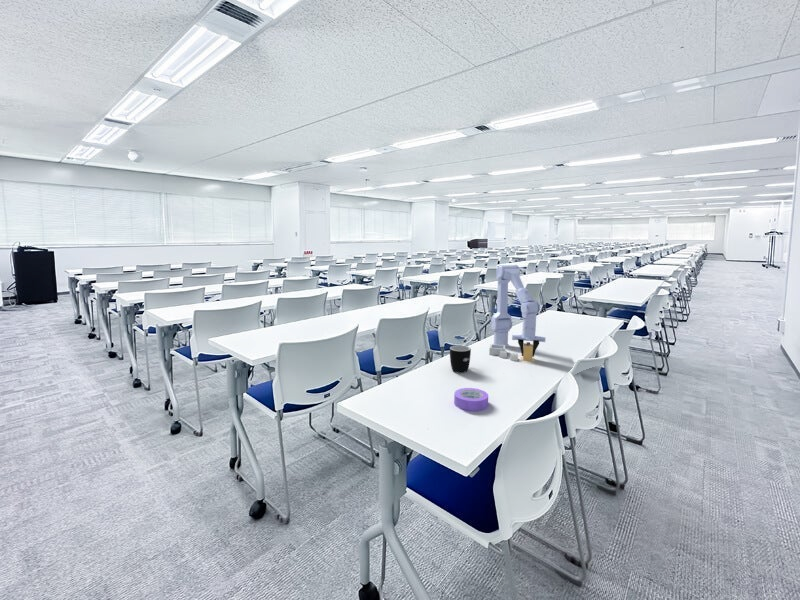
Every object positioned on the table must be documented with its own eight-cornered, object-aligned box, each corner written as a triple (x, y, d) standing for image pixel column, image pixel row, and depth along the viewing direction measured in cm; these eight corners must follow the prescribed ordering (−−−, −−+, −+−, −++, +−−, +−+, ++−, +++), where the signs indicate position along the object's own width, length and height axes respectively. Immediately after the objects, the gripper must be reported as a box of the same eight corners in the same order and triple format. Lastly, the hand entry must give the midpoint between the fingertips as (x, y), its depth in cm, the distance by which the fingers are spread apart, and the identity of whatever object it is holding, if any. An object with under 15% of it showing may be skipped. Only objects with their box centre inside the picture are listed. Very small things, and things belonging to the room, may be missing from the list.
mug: (463, 375, 160) (464, 352, 158) (445, 371, 166) (445, 348, 164) (477, 368, 169) (477, 346, 167) (459, 363, 175) (460, 342, 173)
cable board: (489, 351, 193) (489, 343, 192) (535, 355, 186) (535, 346, 185) (487, 361, 177) (487, 352, 177) (537, 365, 171) (537, 356, 170)
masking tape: (464, 394, 141) (464, 384, 140) (493, 403, 134) (494, 392, 133) (447, 405, 132) (447, 395, 131) (478, 415, 125) (478, 404, 124)
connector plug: (522, 357, 179) (523, 341, 178) (531, 358, 178) (532, 341, 177) (523, 360, 175) (523, 343, 174) (532, 360, 174) (533, 344, 173)
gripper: (512, 328, 173) (511, 356, 175) (546, 330, 168) (544, 359, 171) (512, 324, 179) (511, 352, 181) (545, 326, 175) (543, 355, 177)
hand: (527, 355), depth 177 cm, fingers closed on connector plug, 4 cm apart
